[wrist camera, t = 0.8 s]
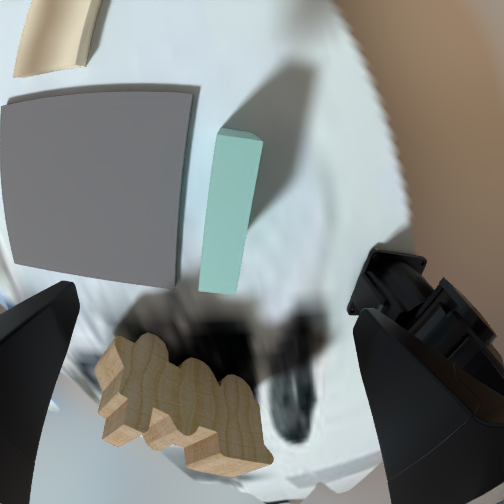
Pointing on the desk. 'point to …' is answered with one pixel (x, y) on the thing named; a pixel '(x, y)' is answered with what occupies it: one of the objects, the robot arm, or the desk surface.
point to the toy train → (179, 408)
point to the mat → (96, 183)
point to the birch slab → (56, 36)
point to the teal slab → (228, 209)
